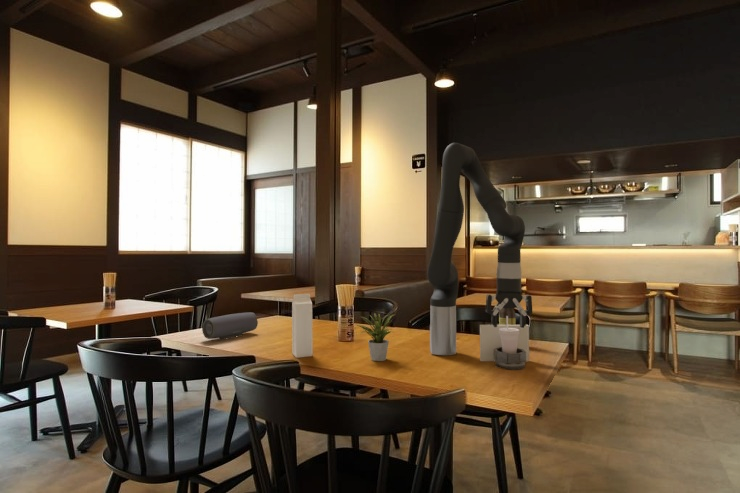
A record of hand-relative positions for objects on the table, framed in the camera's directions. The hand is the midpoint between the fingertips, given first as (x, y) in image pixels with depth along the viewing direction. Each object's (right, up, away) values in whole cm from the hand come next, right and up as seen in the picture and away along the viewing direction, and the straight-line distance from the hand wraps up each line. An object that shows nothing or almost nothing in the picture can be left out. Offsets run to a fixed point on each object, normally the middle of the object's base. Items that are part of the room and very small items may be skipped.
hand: (508, 327), depth 136 cm
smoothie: (0, -11, 0) cm, 11 cm away
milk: (-69, -13, +16) cm, 72 cm away
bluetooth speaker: (-105, -14, +49) cm, 117 cm away
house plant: (-41, -13, +11) cm, 45 cm away
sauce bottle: (+10, -13, +30) cm, 35 cm away
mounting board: (+1, -13, +6) cm, 14 cm away
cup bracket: (0, -13, 0) cm, 13 cm away
